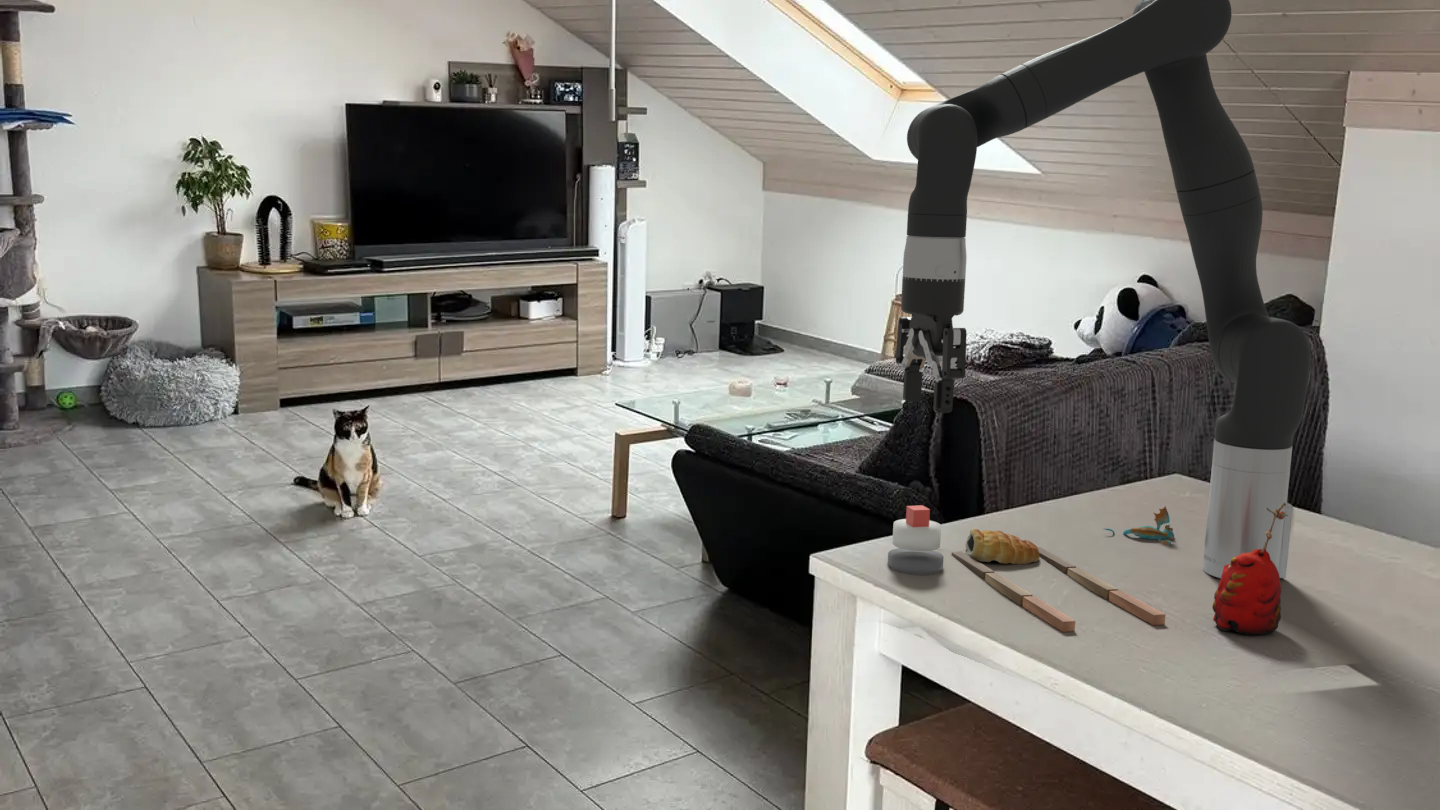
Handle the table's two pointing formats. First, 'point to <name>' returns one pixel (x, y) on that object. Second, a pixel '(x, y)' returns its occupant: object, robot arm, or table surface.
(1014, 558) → the pastry
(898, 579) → the table surface
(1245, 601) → the red clay folk toy
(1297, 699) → the table surface
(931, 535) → the dome button
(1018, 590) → the track
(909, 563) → the button base
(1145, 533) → the dragon figurine
